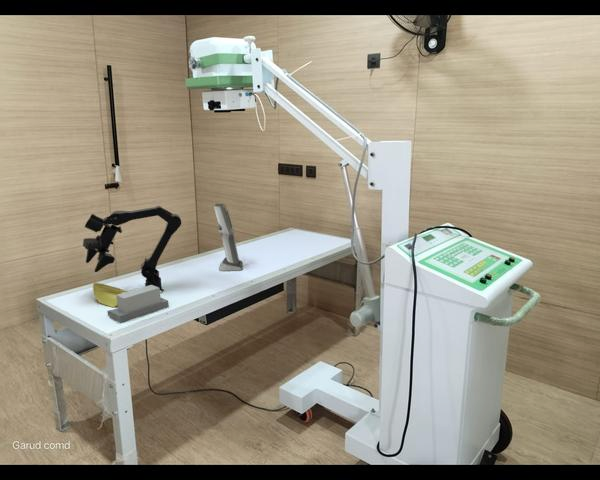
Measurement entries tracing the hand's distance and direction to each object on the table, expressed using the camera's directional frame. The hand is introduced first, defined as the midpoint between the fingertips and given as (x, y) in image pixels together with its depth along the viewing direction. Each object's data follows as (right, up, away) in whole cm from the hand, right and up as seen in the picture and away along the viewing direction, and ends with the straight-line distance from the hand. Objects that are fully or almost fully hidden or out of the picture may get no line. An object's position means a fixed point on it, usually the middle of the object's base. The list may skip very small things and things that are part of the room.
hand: (91, 267), depth 215 cm
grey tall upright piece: (+57, -3, +44) cm, 72 cm away
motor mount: (+26, -18, -14) cm, 34 cm away
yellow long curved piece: (+10, -15, +1) cm, 18 cm away
